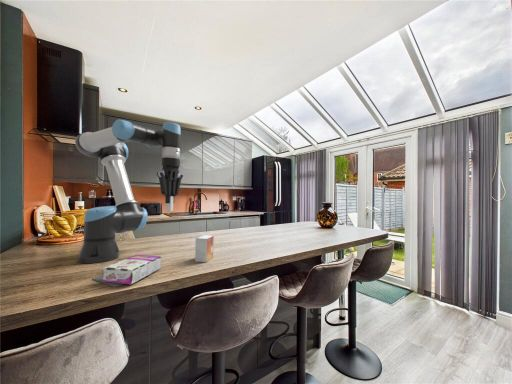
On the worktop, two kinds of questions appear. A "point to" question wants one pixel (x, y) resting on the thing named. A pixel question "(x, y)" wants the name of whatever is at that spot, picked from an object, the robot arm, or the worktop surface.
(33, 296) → the worktop surface
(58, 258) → the worktop surface
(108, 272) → the candy bar box
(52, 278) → the worktop surface
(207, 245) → the small box
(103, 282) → the mat
